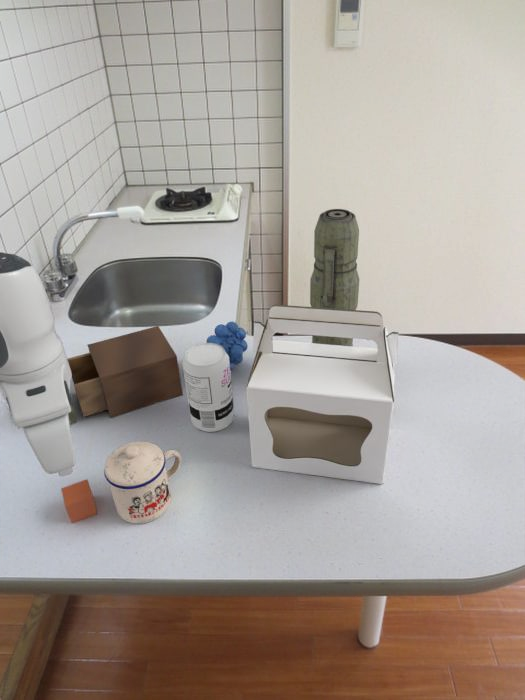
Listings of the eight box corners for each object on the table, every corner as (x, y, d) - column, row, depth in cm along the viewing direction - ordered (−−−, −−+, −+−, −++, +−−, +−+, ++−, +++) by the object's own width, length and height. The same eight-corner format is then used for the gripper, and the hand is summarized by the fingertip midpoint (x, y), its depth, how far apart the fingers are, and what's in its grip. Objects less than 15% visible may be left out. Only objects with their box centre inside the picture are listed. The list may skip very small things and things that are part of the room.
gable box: (250, 467, 89) (239, 326, 73) (266, 416, 99) (259, 283, 83) (384, 485, 84) (404, 339, 68) (386, 429, 95) (403, 292, 79)
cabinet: (110, 418, 101) (100, 378, 95) (97, 382, 110) (87, 344, 105) (183, 394, 106) (176, 355, 100) (164, 362, 115) (158, 325, 110)
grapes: (224, 392, 106) (219, 342, 99) (201, 379, 109) (194, 331, 103) (262, 364, 113) (259, 316, 106) (238, 354, 117) (235, 307, 110)
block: (71, 523, 81) (65, 506, 78) (67, 505, 84) (61, 488, 81) (97, 513, 82) (92, 496, 80) (93, 495, 85) (87, 478, 83)
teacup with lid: (132, 536, 78) (116, 483, 72) (105, 500, 84) (89, 447, 78) (199, 494, 84) (190, 442, 78) (170, 463, 90) (159, 411, 84)
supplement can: (187, 410, 101) (177, 346, 93) (228, 401, 103) (222, 337, 95) (195, 438, 95) (185, 372, 86) (239, 428, 97) (234, 361, 88)
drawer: (43, 433, 96) (31, 400, 92) (37, 398, 105) (25, 366, 101) (141, 402, 103) (134, 370, 98) (127, 371, 111) (120, 341, 107)
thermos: (355, 364, 112) (366, 202, 92) (349, 399, 102) (361, 227, 83) (313, 360, 114) (316, 200, 94) (304, 394, 104) (305, 225, 84)
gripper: (2, 340, 74) (31, 414, 82) (13, 428, 59) (46, 508, 67) (49, 329, 77) (72, 402, 84) (70, 410, 61) (96, 490, 69)
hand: (61, 449), depth 75 cm, fingers open, 8 cm apart
